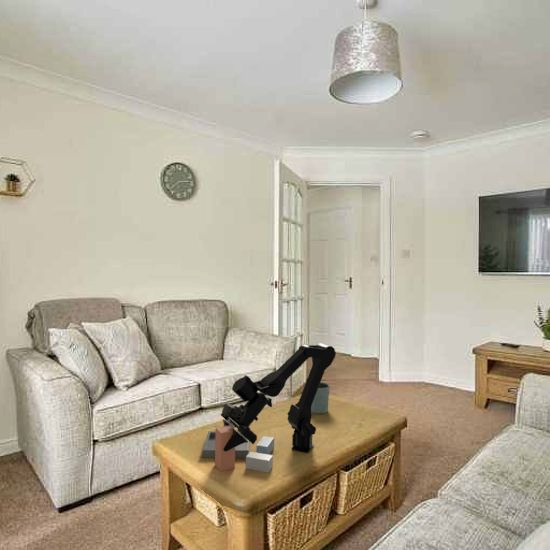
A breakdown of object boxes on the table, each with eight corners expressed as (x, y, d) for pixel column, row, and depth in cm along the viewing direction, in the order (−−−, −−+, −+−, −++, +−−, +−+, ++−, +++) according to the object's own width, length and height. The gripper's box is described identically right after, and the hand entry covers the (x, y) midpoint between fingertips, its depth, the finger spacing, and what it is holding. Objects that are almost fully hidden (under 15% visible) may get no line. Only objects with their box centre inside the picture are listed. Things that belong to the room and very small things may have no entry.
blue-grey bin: (323, 416, 181) (323, 389, 181) (303, 411, 186) (303, 385, 186) (332, 409, 189) (333, 384, 189) (313, 405, 195) (314, 380, 195)
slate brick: (263, 446, 149) (263, 436, 149) (273, 448, 148) (274, 437, 148) (256, 456, 141) (256, 445, 141) (267, 458, 140) (267, 446, 140)
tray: (249, 438, 156) (249, 431, 156) (248, 457, 140) (248, 450, 140) (208, 438, 155) (208, 431, 155) (202, 457, 139) (202, 450, 139)
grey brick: (272, 467, 134) (272, 455, 134) (268, 473, 130) (269, 460, 130) (250, 463, 136) (250, 451, 136) (245, 468, 133) (246, 456, 133)
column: (228, 461, 137) (229, 425, 137) (234, 468, 133) (235, 430, 132) (215, 464, 134) (215, 427, 134) (220, 471, 130) (221, 433, 130)
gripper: (226, 387, 143) (195, 423, 138) (248, 403, 127) (215, 445, 122) (246, 406, 147) (217, 441, 142) (270, 423, 131) (238, 465, 126)
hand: (221, 447), depth 133 cm, fingers closed on column, 5 cm apart
